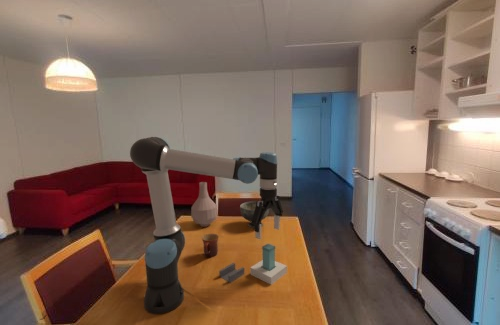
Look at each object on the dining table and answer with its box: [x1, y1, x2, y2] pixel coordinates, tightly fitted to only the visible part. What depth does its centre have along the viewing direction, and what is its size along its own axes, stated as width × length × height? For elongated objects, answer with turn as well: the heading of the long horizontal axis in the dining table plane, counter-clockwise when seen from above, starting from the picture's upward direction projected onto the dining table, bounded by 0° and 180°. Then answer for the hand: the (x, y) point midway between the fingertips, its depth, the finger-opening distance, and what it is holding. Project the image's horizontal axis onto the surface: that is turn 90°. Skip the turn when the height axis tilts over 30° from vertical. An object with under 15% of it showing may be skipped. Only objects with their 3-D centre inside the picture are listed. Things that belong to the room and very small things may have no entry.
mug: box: [201, 233, 219, 259], centre depth 136 cm, size 12×9×10 cm
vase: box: [190, 181, 218, 227], centre depth 178 cm, size 18×18×30 cm
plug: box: [261, 243, 276, 271], centre depth 118 cm, size 4×4×14 cm
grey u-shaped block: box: [218, 262, 245, 284], centre depth 118 cm, size 9×7×4 cm
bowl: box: [239, 200, 270, 229], centre depth 176 cm, size 20×19×15 cm
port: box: [249, 259, 288, 285], centre depth 119 cm, size 12×12×5 cm
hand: (267, 233), depth 116 cm, fingers open, 13 cm apart
